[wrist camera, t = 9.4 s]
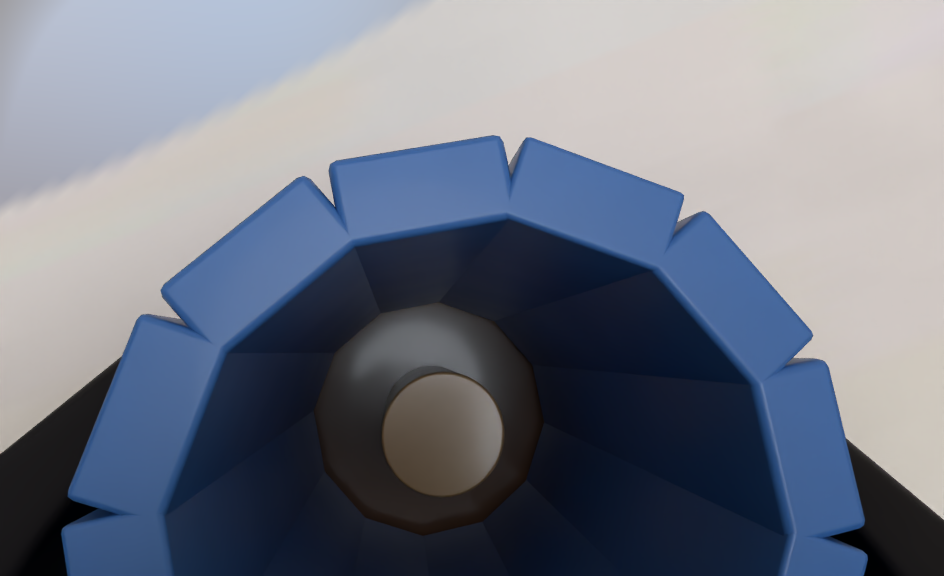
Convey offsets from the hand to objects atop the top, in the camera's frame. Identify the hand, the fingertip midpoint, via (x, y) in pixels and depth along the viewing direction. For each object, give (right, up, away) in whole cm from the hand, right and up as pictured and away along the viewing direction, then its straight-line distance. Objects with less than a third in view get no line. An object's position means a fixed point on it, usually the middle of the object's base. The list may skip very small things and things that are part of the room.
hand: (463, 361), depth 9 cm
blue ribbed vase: (-1, -2, +6) cm, 7 cm away
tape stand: (-1, -2, +8) cm, 8 cm away
